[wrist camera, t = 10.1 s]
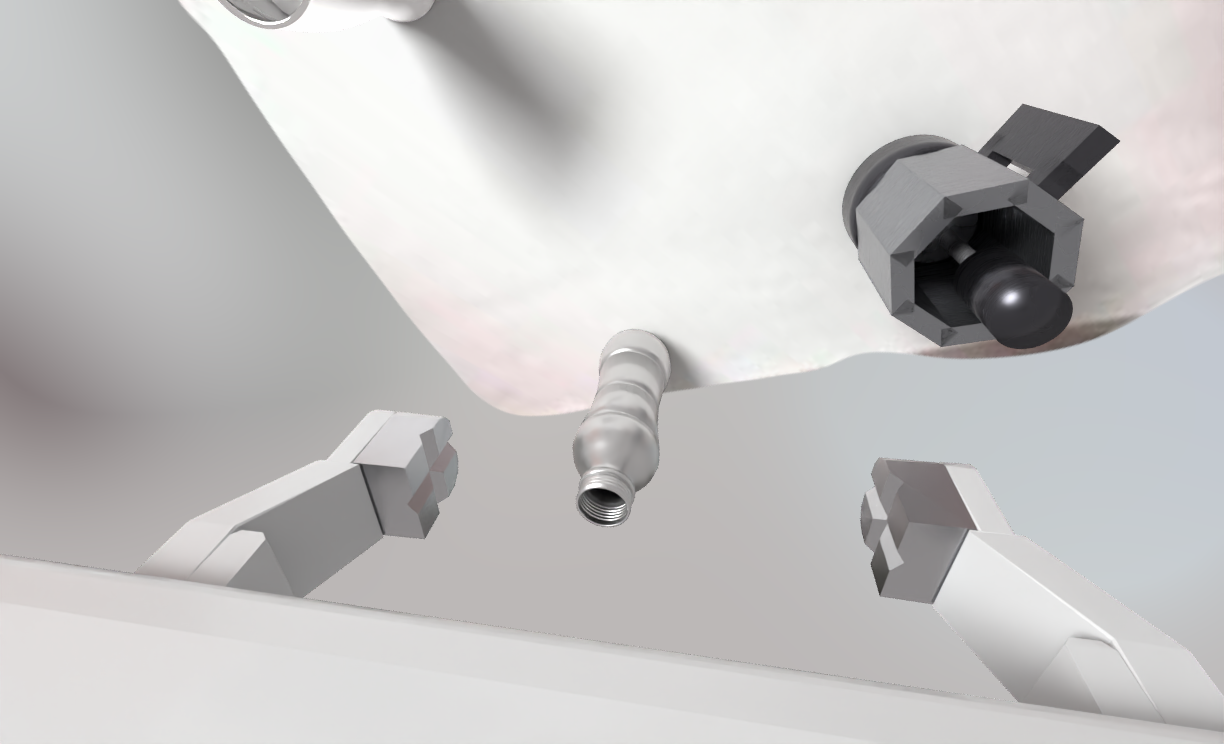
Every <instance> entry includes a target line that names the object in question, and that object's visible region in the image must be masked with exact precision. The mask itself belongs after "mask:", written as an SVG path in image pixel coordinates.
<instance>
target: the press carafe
mask: <svg viewBox="0 0 1224 744" xmlns="http://www.w3.org/2000/svg"><path fill="white" fill-rule="evenodd" d="M1119 142H1120V140H1118V139H1117V138H1116V137H1114V136H1113V135H1112V134H1110V133H1109V132H1108V131H1106V130H1105V129H1104V128H1102V127H1101V126H1100V125H1097V124H1093V123H1090V122H1086V121H1082V120H1079V119H1075V118H1072V117H1068V116H1065V115H1061V114H1057V113H1054V112H1050V111H1047V110H1043V109H1040V108H1036V107H1032V106H1029V105H1025V104H1022V105H1021V106H1020V107H1019V108H1018V110H1017V111H1016V112H1015V113H1014V114H1013V115H1012V116H1011V117H1010V118H1009V119H1008V120H1007V121H1006V123H1005V124H1004V125H1003V126H1002V127H1001V128H1000V129H999V130H998V131H997V132H996V133H995V134H994V136H993V137H992V138H991V139H990V140H989V141H988V142H987V143H986V144H985V145H984V146H983V147H982V149H981V150H980V151H979V152H978V153H977V152H976V151H974V150H972V149H970V148H968V147H966V146H964V145H958V144H956V143H954V142H952V141H950V140H948V139H945V138H943V137H939V136H934V135H914V136H908V137H904V138H901V139H898V140H895V141H893V142H891V143H888V144H887V145H885V146H883V147H881V148H880V149H878V150H877V151H875V152H874V153H873V154H871V155H870V156H869V157H868V158H867V159H866V160H865V161H864V162H863V163H862V164H861V165H860V166H859V167H858V169H857V170H856V172H855V173H854V174H853V176H852V178H851V180H850V181H849V184H848V186H847V188H846V191H845V195H844V198H843V205H842V215H843V222H844V225H845V228H846V230H847V232H848V235H849V236H850V238H851V239H852V241H853V243H854V244H855V246H856V248H857V249H858V255H859V261H860V263H861V264H862V266H863V268H864V270H865V271H866V273H867V275H868V276H869V278H870V280H871V281H872V283H873V285H874V286H875V288H876V290H877V292H878V293H879V295H880V297H881V298H882V300H883V302H884V303H885V305H886V307H887V309H888V310H889V312H890V314H891V315H892V316H894V317H895V318H897V319H898V320H900V321H902V322H903V323H905V324H906V325H908V326H909V327H911V328H913V329H914V330H916V331H917V332H919V333H920V334H922V335H924V336H925V337H927V338H928V339H930V340H931V341H933V342H935V343H936V344H938V345H939V346H940V347H944V346H951V345H958V344H965V343H972V342H979V341H986V340H993V339H996V338H995V337H994V336H993V335H992V334H991V333H990V331H989V330H988V329H987V328H986V327H985V326H984V325H983V323H982V322H981V321H980V320H979V319H978V318H977V317H976V315H975V314H974V313H973V312H972V311H971V310H970V309H969V307H968V306H967V305H966V304H965V303H964V302H963V301H962V299H961V298H960V297H959V296H958V295H957V293H956V292H955V289H954V286H953V280H954V275H955V272H956V270H957V269H958V267H959V266H960V264H959V263H958V262H957V261H956V260H955V259H954V258H953V257H952V256H950V257H948V258H946V259H944V260H941V261H937V262H931V263H921V262H916V261H914V259H915V258H916V257H917V256H918V255H919V254H920V253H921V252H922V251H923V250H924V249H925V248H926V247H927V246H928V244H929V243H930V242H931V241H932V240H933V239H934V238H935V237H936V236H937V235H938V234H939V233H940V232H941V231H942V230H943V229H944V228H945V227H946V226H947V225H948V224H949V223H950V222H951V221H952V220H953V219H954V218H955V217H959V216H964V215H969V214H974V213H978V222H977V226H976V229H975V232H974V234H973V236H972V237H971V239H970V240H969V242H968V243H967V244H968V245H969V246H970V247H971V248H973V249H974V250H975V251H976V252H977V251H979V250H982V249H985V248H991V247H1002V248H1006V249H1009V250H1011V251H1013V252H1014V253H1015V254H1017V255H1018V256H1019V257H1020V258H1022V259H1023V260H1024V261H1025V262H1027V263H1028V264H1029V265H1030V266H1032V267H1033V268H1034V269H1036V270H1037V271H1038V272H1039V273H1041V274H1042V275H1043V276H1044V277H1046V278H1047V279H1048V280H1050V281H1051V282H1052V283H1053V284H1055V285H1056V286H1057V287H1058V288H1060V289H1061V290H1062V291H1064V292H1065V293H1066V292H1067V291H1069V290H1070V289H1071V288H1072V287H1074V282H1075V275H1076V268H1077V261H1078V254H1079V248H1080V241H1081V234H1082V227H1083V221H1084V218H1082V217H1081V216H1079V215H1077V214H1076V213H1075V212H1073V211H1072V210H1070V209H1069V208H1068V207H1066V206H1065V205H1064V204H1062V203H1061V202H1059V201H1058V199H1060V198H1061V197H1062V196H1063V195H1064V194H1065V193H1066V192H1067V191H1068V190H1069V189H1070V188H1071V187H1072V186H1073V185H1074V184H1075V183H1076V182H1078V181H1079V180H1080V179H1081V178H1082V177H1083V176H1084V175H1085V174H1086V173H1087V172H1088V171H1089V170H1090V169H1091V168H1092V167H1093V166H1095V165H1096V164H1097V163H1098V162H1099V161H1100V160H1101V159H1102V158H1103V157H1104V156H1105V155H1106V154H1107V153H1108V152H1109V151H1110V150H1112V149H1113V148H1114V147H1115V146H1116V145H1117V144H1118V143H1119ZM1010 163H1011V164H1013V165H1015V166H1017V167H1019V168H1021V169H1023V170H1025V171H1027V172H1029V173H1030V174H1029V175H1028V176H1027V177H1024V176H1022V175H1020V174H1018V173H1016V172H1014V171H1012V170H1011V169H1009V168H1007V166H1008V165H1009V164H1010Z"/></svg>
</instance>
